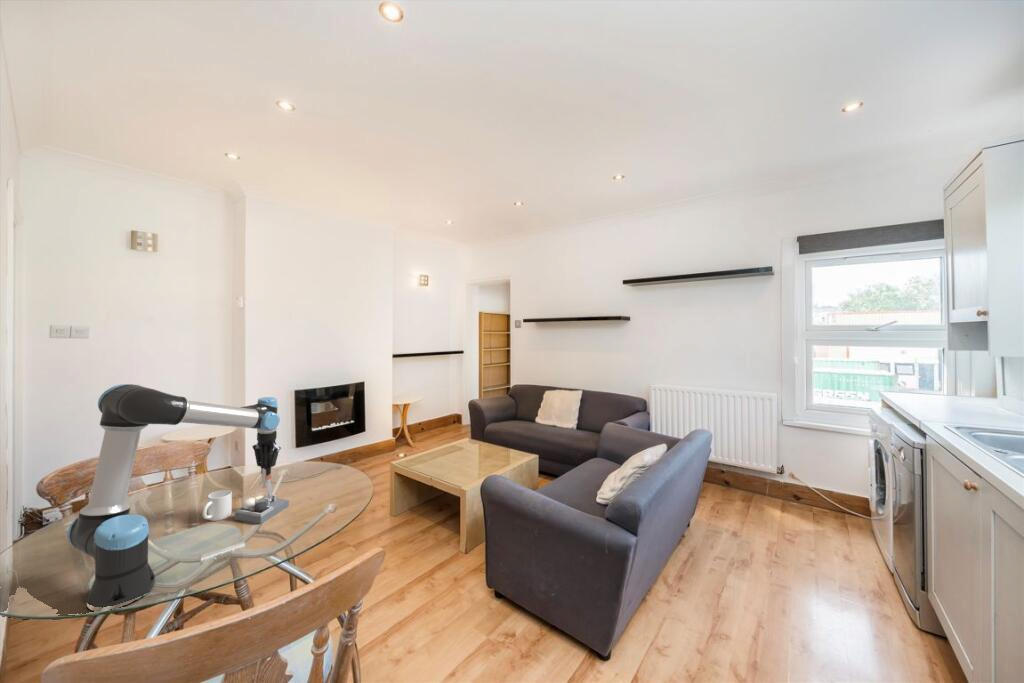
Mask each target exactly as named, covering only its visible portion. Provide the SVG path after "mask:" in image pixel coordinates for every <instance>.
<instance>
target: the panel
mask: <svg viewBox="0 0 1024 683" xmlns="http://www.w3.org/2000/svg"><path fill="white" fill-rule="evenodd" d="M272 498H273V501H272V502H270V499H269V498H268V496H266V495H265V496H262V497H261V498H259V499H257V500H255V504H256V503H259V502H266V503H267V510H265V511H264V512H262V513H257V512H255V506H254V507H252V508H249V509H243V505H242V506H241V507H239V508H237V509H235V512H234V520H235V521H241V522H245V523H246V522H247V523H253V524H258V525H262V524H263V523H264V522H266V521H268V520H269V519H271V518H273V517H274V516H276V515H278V514H279V513H281V512H282V511H284V510H285V509H288V508H289V507H290V500H289V499H284V498H278V497H277V495H276V494H273V493H272ZM288 506H289V507H288Z"/></svg>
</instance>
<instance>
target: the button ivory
mask: <svg viewBox="0 0 1024 683" xmlns="http://www.w3.org/2000/svg"><path fill="white" fill-rule="evenodd" d="M255 502H256V498H255V497H247V498H245V499H242V506H243V509H249V508H252V507H254V506H255Z"/></svg>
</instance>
